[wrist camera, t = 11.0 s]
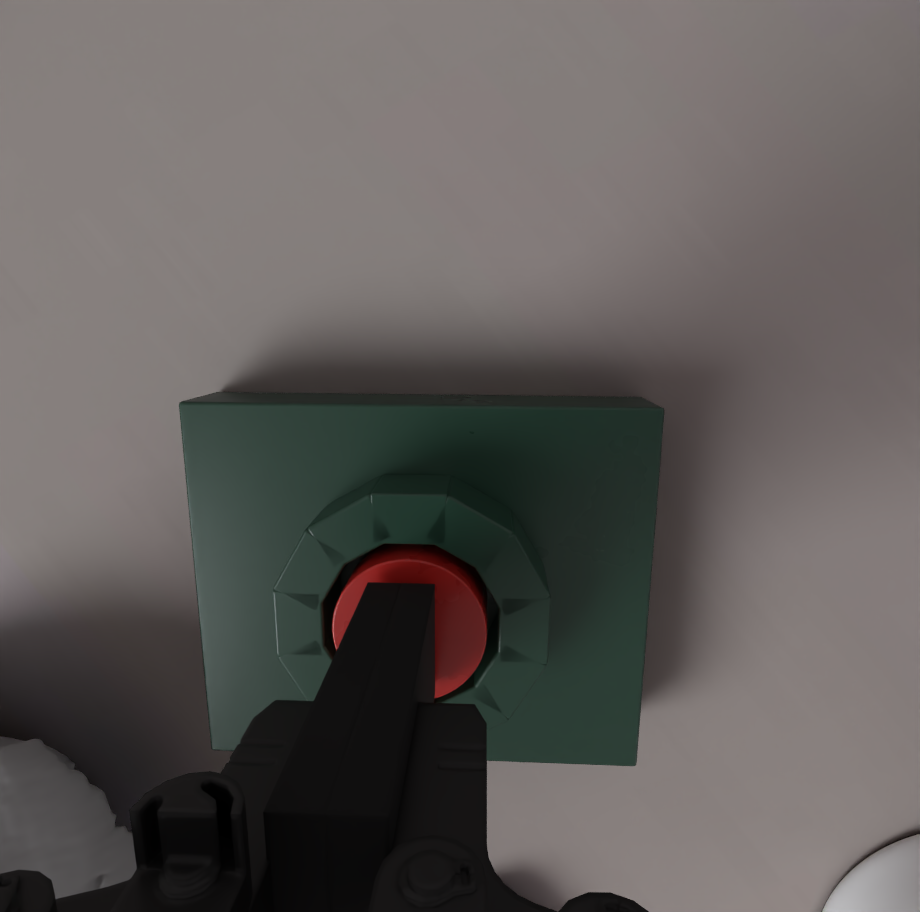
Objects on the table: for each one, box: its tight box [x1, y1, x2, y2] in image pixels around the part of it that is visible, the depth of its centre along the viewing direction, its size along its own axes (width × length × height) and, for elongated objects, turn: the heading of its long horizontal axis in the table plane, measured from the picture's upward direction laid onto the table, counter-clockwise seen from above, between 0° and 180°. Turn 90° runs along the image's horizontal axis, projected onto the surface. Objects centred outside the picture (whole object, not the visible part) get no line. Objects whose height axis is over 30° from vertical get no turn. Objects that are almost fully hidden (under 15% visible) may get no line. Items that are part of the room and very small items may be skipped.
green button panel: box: [179, 392, 664, 766], centre depth 16 cm, size 12×10×4 cm
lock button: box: [332, 543, 487, 698], centre depth 15 cm, size 4×4×2 cm
